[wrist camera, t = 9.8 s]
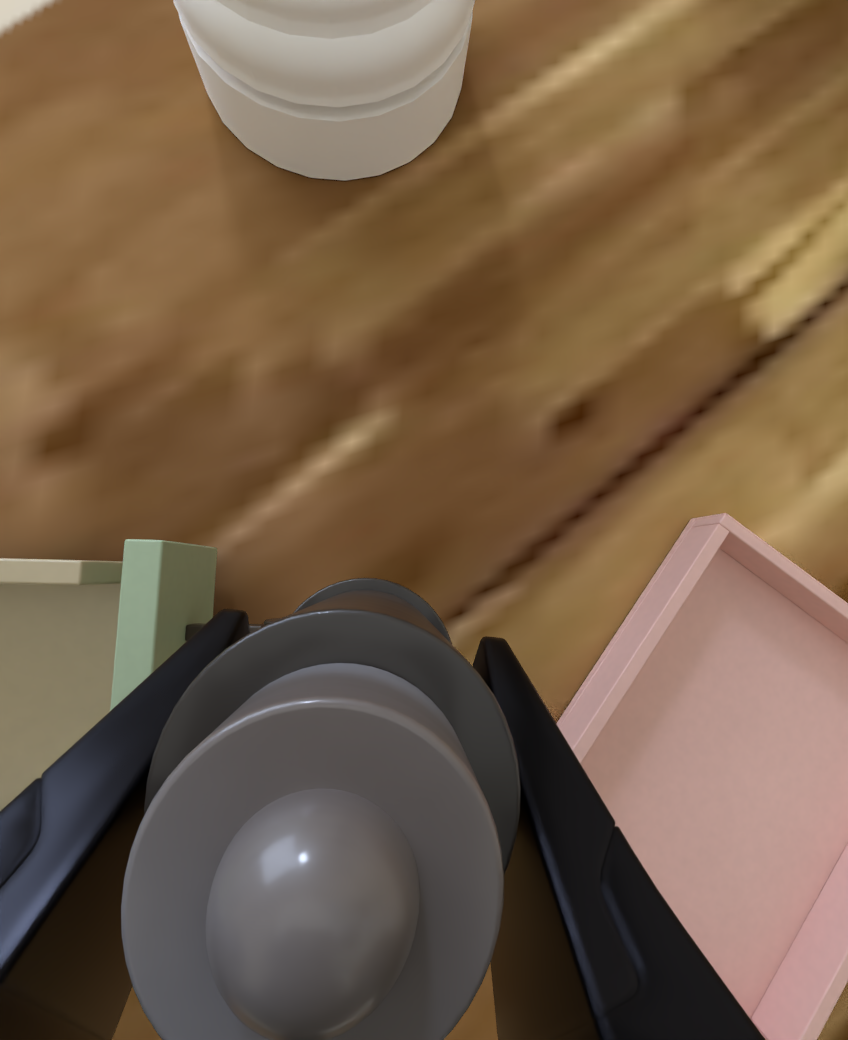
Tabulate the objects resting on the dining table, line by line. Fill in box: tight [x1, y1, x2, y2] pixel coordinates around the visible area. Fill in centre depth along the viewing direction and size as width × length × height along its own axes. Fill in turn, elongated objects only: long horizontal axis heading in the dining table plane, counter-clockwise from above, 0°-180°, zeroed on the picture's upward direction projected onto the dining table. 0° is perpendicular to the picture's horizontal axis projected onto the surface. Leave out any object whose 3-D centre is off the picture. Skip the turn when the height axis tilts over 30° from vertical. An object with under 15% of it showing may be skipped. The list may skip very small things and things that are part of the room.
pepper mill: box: [121, 578, 521, 1040], centre depth 9 cm, size 5×5×11 cm
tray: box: [556, 513, 848, 1040], centre depth 22 cm, size 17×14×2 cm
